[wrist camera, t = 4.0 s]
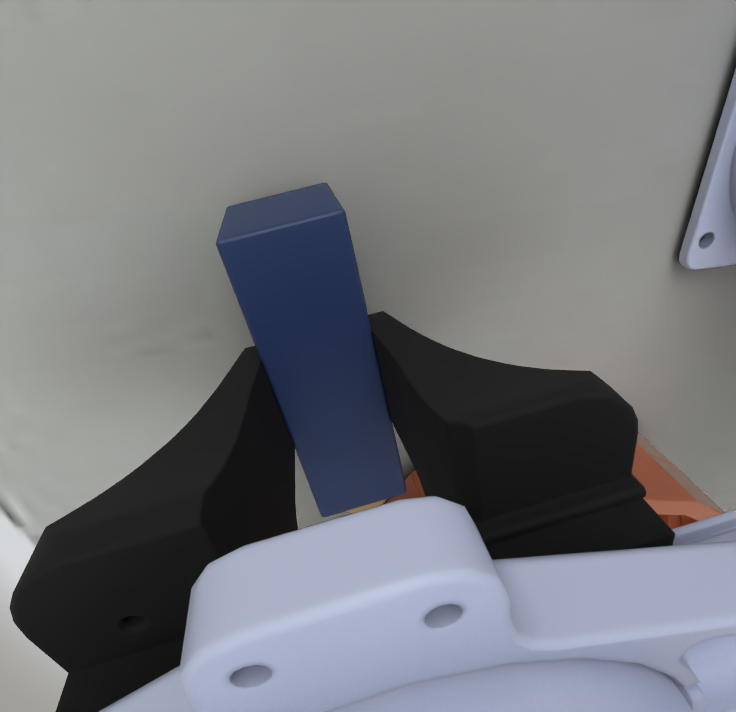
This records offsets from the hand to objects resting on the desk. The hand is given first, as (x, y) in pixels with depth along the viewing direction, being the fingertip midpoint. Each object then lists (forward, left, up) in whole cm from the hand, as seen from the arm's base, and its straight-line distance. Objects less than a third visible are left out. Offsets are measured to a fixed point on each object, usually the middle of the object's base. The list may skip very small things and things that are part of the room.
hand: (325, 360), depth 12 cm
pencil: (0, 0, -1) cm, 1 cm away
